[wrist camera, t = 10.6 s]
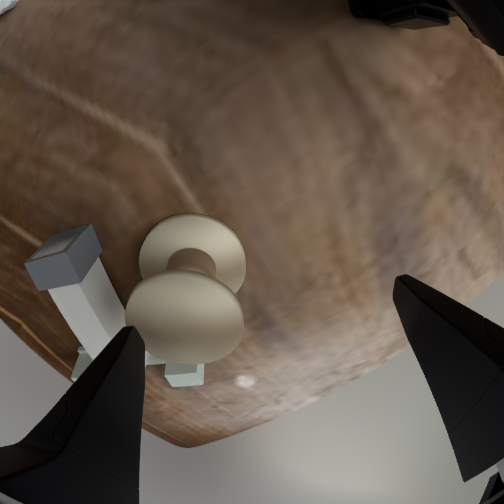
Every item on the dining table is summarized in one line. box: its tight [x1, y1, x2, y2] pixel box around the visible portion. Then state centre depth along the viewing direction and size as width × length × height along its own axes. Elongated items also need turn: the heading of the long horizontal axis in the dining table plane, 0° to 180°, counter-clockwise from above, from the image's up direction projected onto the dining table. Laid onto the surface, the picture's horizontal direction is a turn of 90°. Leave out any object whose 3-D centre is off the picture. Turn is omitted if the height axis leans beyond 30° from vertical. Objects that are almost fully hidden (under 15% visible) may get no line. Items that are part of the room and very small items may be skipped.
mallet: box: [24, 223, 149, 368], centre depth 21 cm, size 14×4×4 cm, turn 10°
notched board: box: [71, 346, 204, 387], centre depth 26 cm, size 3×14×4 cm, turn 100°
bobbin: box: [125, 213, 246, 365], centre depth 19 cm, size 8×8×7 cm
